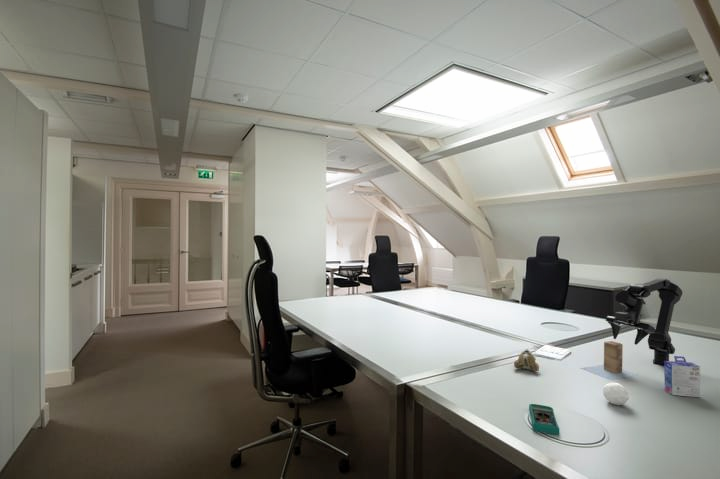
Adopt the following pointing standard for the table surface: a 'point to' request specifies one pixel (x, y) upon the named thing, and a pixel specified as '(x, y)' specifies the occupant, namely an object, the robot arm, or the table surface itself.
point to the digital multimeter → (543, 419)
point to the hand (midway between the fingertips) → (624, 341)
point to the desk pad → (607, 372)
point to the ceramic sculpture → (526, 361)
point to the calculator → (552, 352)
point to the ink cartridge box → (682, 377)
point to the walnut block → (613, 356)
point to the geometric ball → (615, 393)
